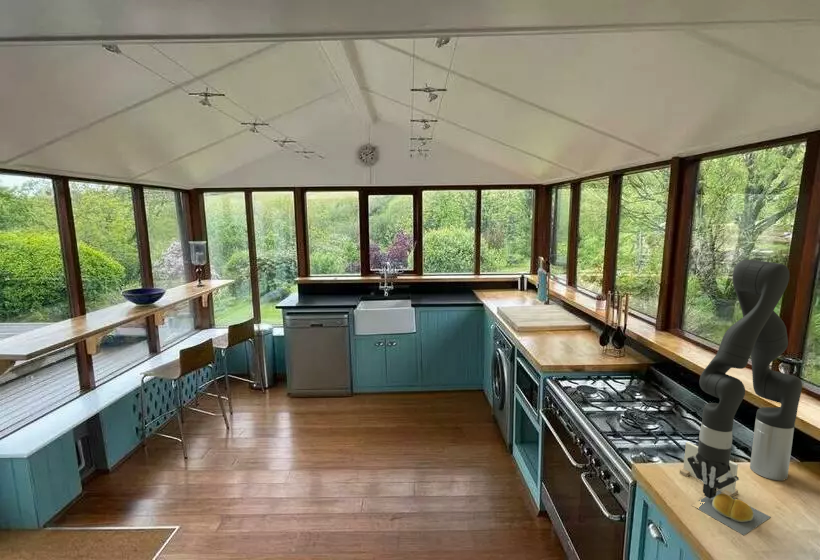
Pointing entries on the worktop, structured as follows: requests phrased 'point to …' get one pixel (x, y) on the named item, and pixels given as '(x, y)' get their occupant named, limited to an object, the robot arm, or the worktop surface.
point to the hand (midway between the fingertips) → (708, 496)
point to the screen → (687, 470)
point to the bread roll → (732, 508)
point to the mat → (737, 526)
